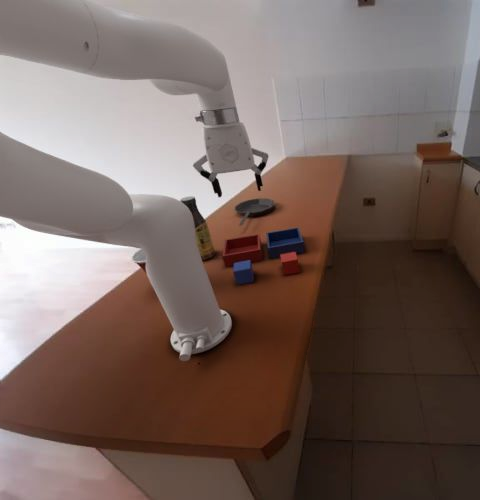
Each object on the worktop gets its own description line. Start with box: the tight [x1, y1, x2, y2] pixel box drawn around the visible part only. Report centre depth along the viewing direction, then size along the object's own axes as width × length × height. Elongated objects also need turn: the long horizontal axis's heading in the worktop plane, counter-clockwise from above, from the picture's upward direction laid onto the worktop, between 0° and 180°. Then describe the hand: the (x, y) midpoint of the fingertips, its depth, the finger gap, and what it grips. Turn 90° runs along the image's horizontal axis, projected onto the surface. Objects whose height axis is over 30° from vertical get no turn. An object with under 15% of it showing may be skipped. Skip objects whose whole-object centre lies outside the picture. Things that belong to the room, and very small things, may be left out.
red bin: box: [222, 233, 264, 268], centre depth 90 cm, size 11×11×4 cm
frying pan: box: [234, 197, 275, 226], centre depth 117 cm, size 18×32×4 cm, turn 1°
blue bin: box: [265, 227, 306, 260], centre depth 92 cm, size 11×11×4 cm
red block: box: [280, 252, 300, 276], centre depth 80 cm, size 4×4×4 cm
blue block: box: [232, 260, 255, 286], centre depth 78 cm, size 4×4×4 cm
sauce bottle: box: [179, 195, 216, 261], centre depth 87 cm, size 6×6×20 cm
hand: (240, 192), depth 70 cm, fingers open, 9 cm apart
